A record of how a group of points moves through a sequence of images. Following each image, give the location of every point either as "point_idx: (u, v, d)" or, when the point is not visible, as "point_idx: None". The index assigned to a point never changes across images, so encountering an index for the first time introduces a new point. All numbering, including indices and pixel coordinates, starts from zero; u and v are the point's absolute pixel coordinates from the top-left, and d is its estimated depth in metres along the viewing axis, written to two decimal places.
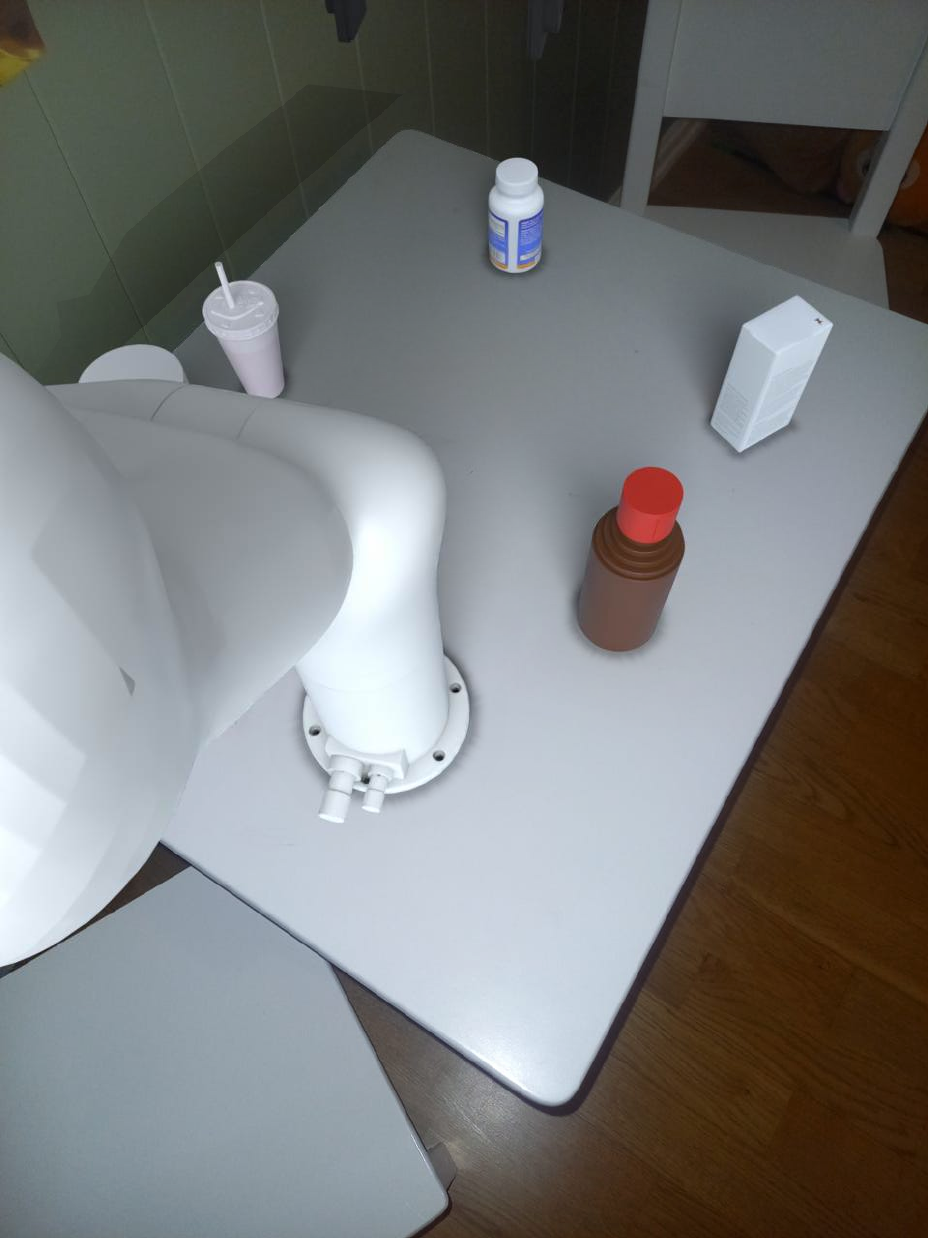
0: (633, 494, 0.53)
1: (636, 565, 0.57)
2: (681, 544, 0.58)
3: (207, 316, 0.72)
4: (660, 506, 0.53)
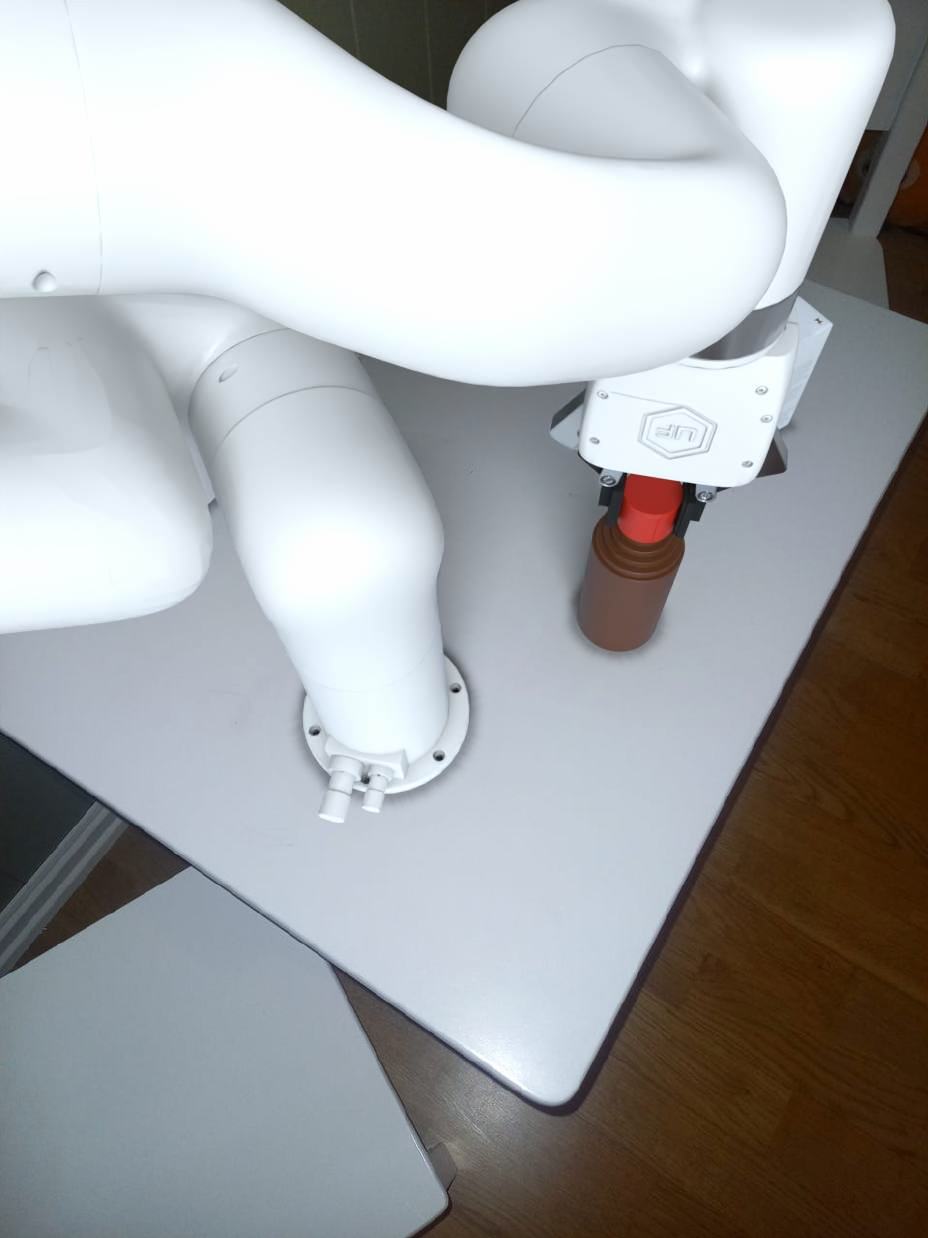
0: (633, 494, 0.53)
1: (636, 565, 0.57)
2: (681, 544, 0.58)
3: None
4: (660, 506, 0.53)
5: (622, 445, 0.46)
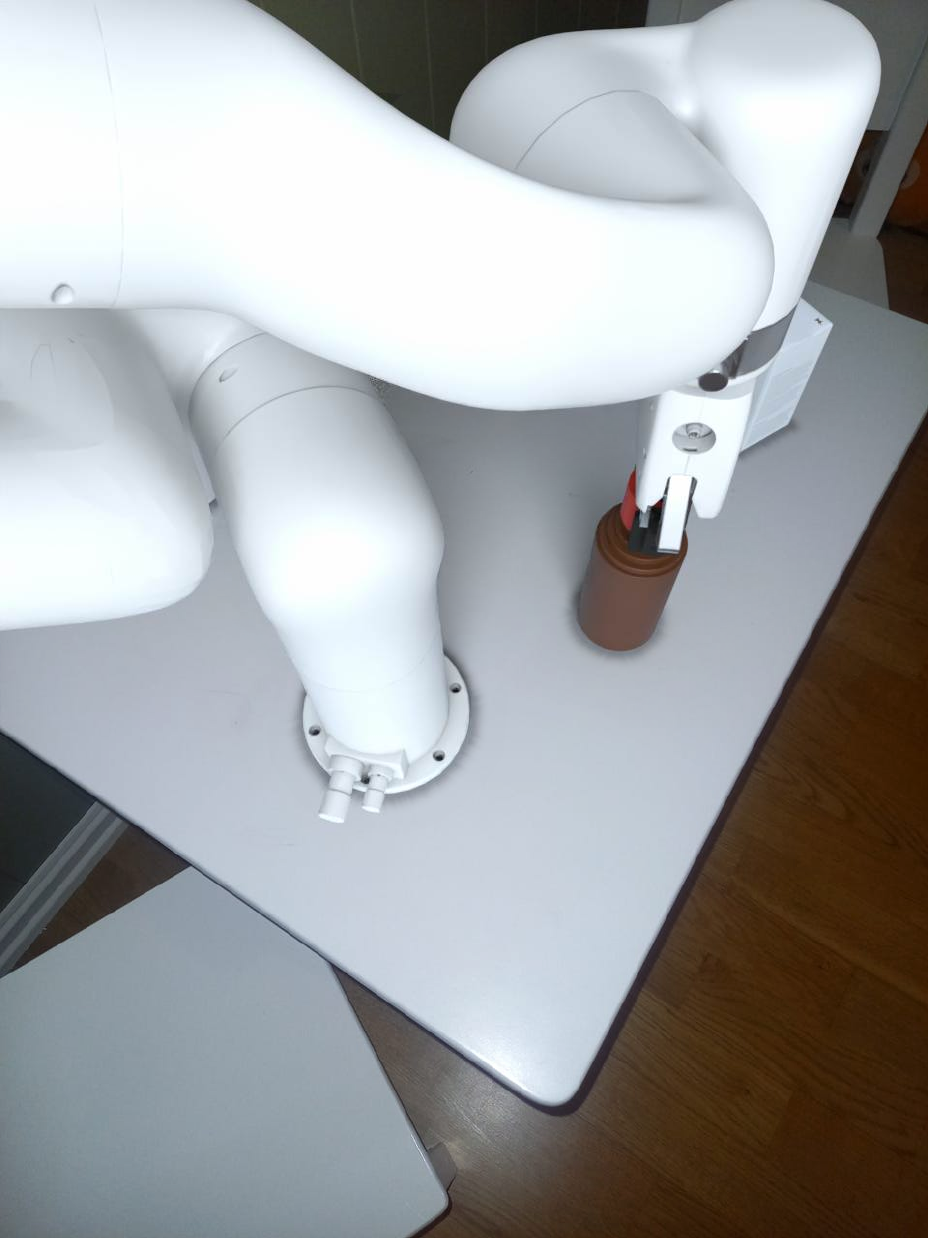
0: None
1: (640, 562, 0.57)
2: (684, 541, 0.58)
3: None
4: None
5: None
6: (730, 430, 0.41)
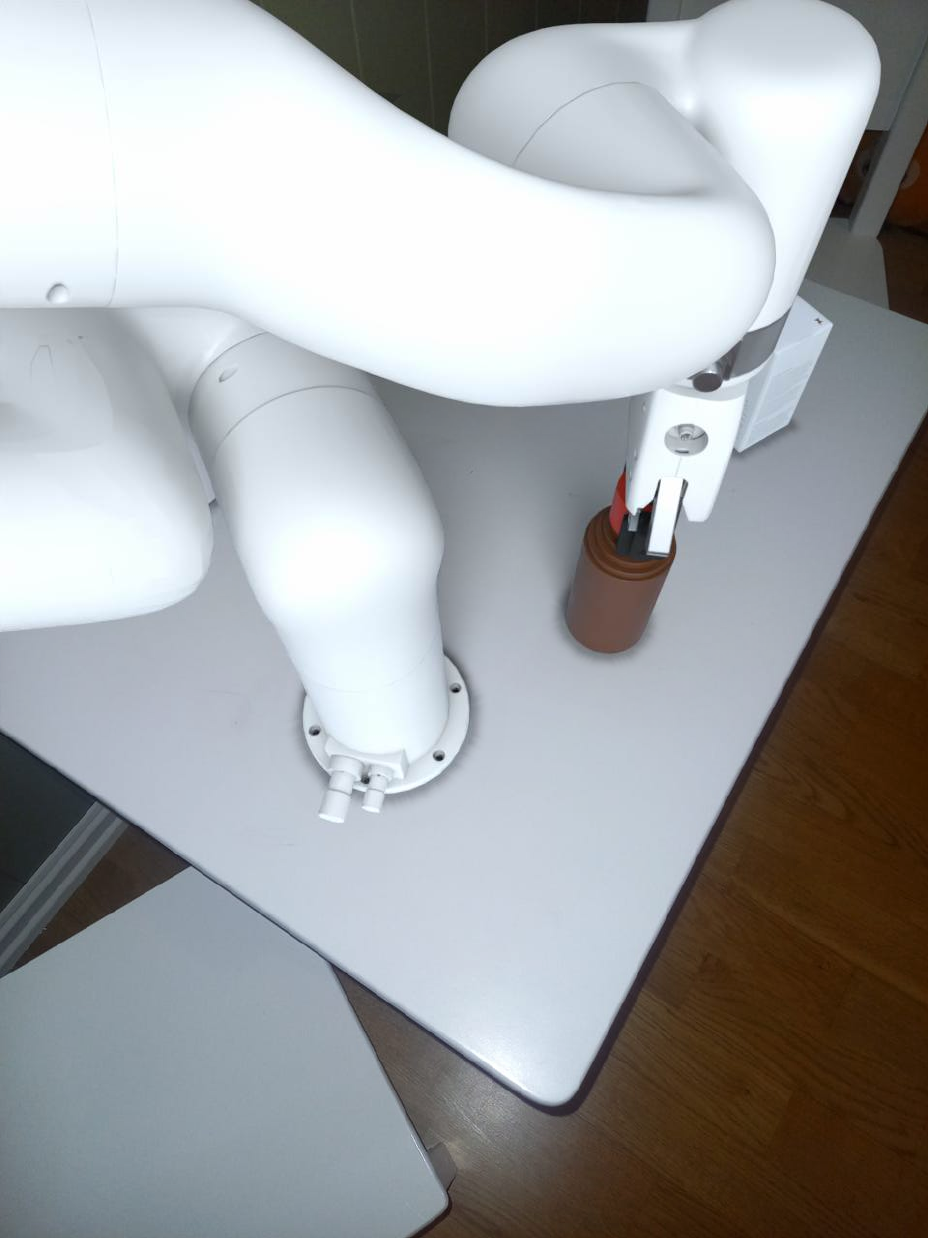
0: None
1: (628, 565, 0.56)
2: (673, 545, 0.58)
3: None
4: None
5: None
6: (723, 432, 0.41)
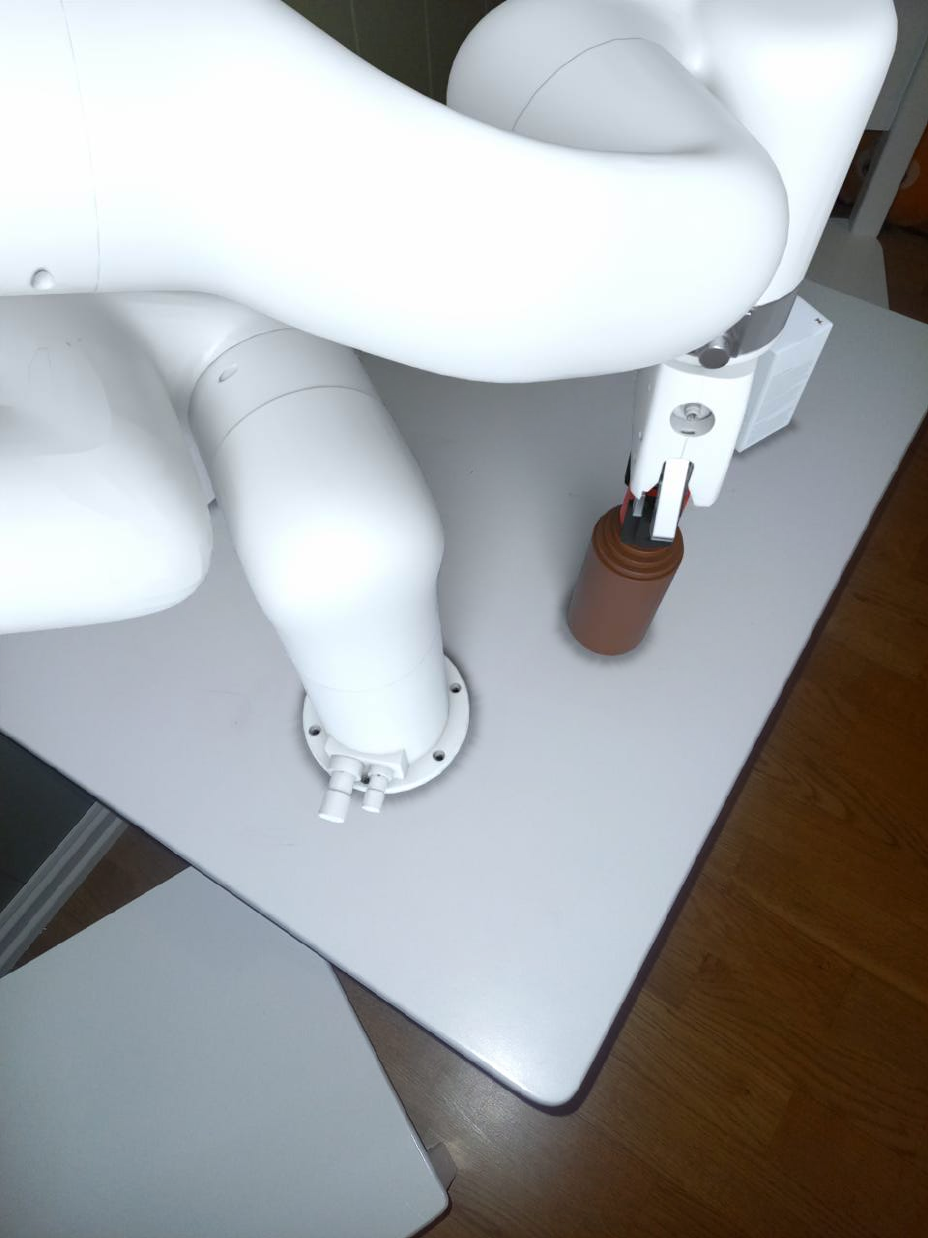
0: None
1: (639, 565, 0.56)
2: (681, 544, 0.58)
3: None
4: None
5: None
6: (730, 412, 0.40)
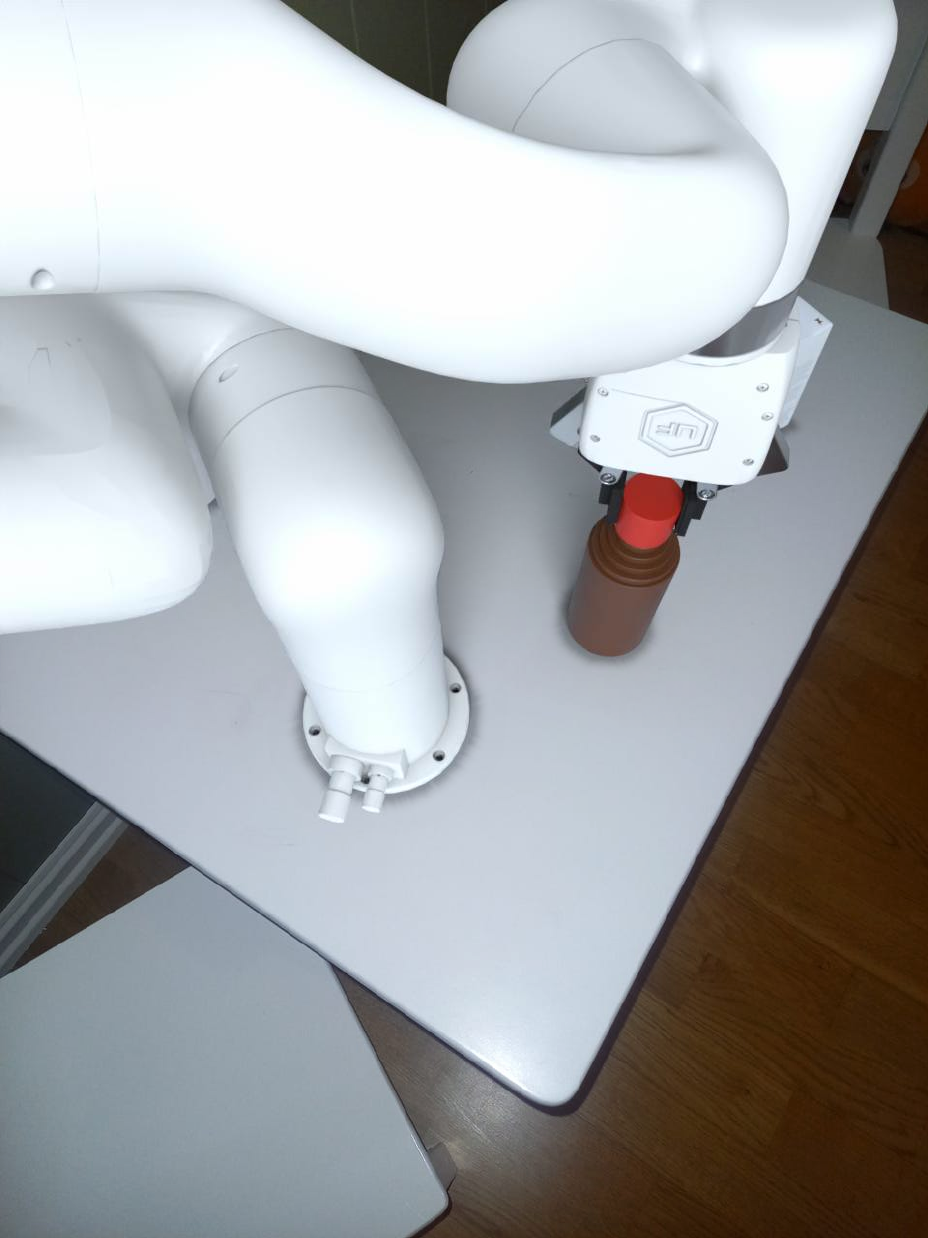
0: (671, 488, 0.53)
1: (634, 572, 0.56)
2: (677, 549, 0.57)
3: None
4: (642, 480, 0.53)
5: (623, 443, 0.46)
6: None
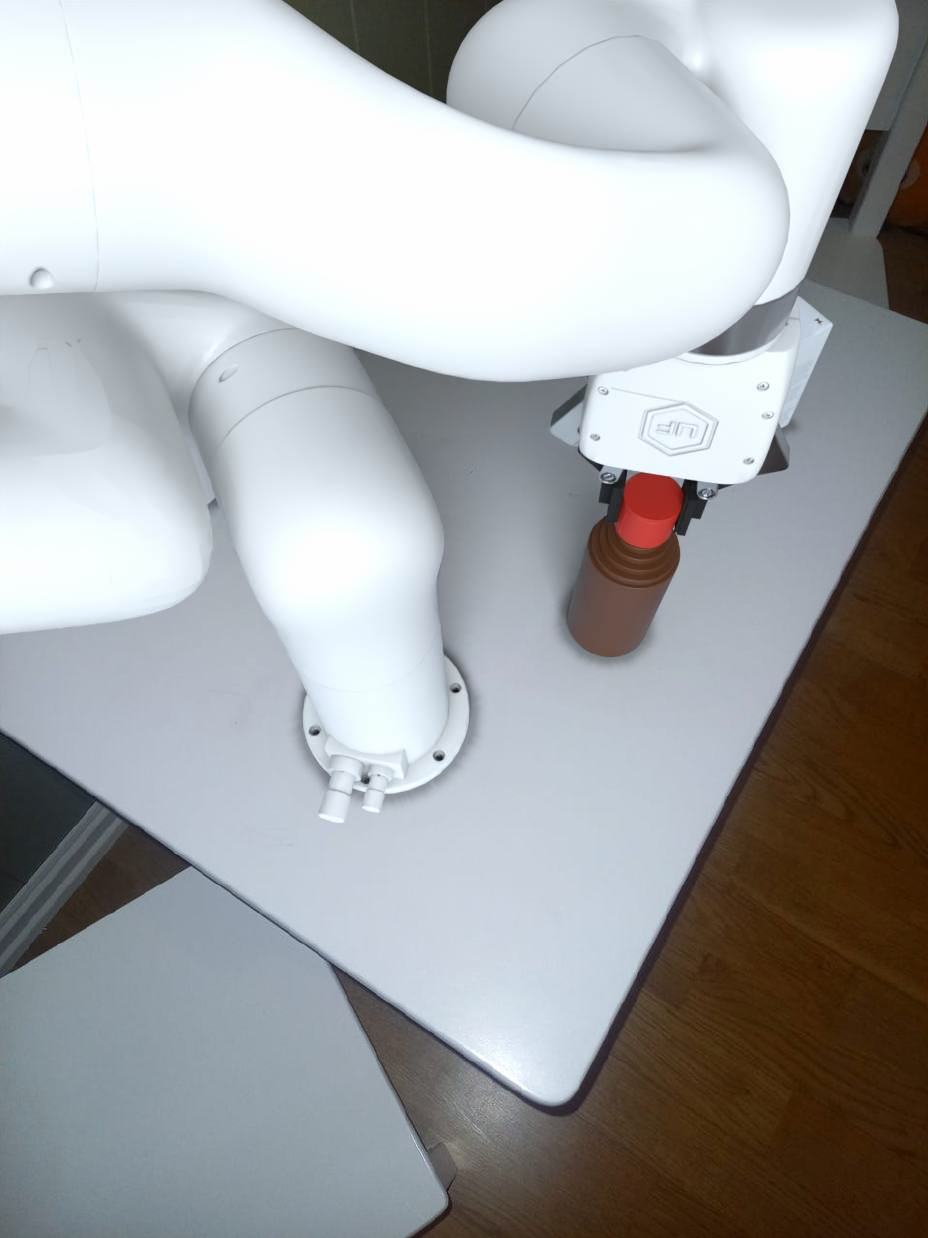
0: (640, 480, 0.53)
1: (634, 572, 0.56)
2: (677, 550, 0.57)
3: None
4: (637, 504, 0.52)
5: (623, 442, 0.46)
6: None
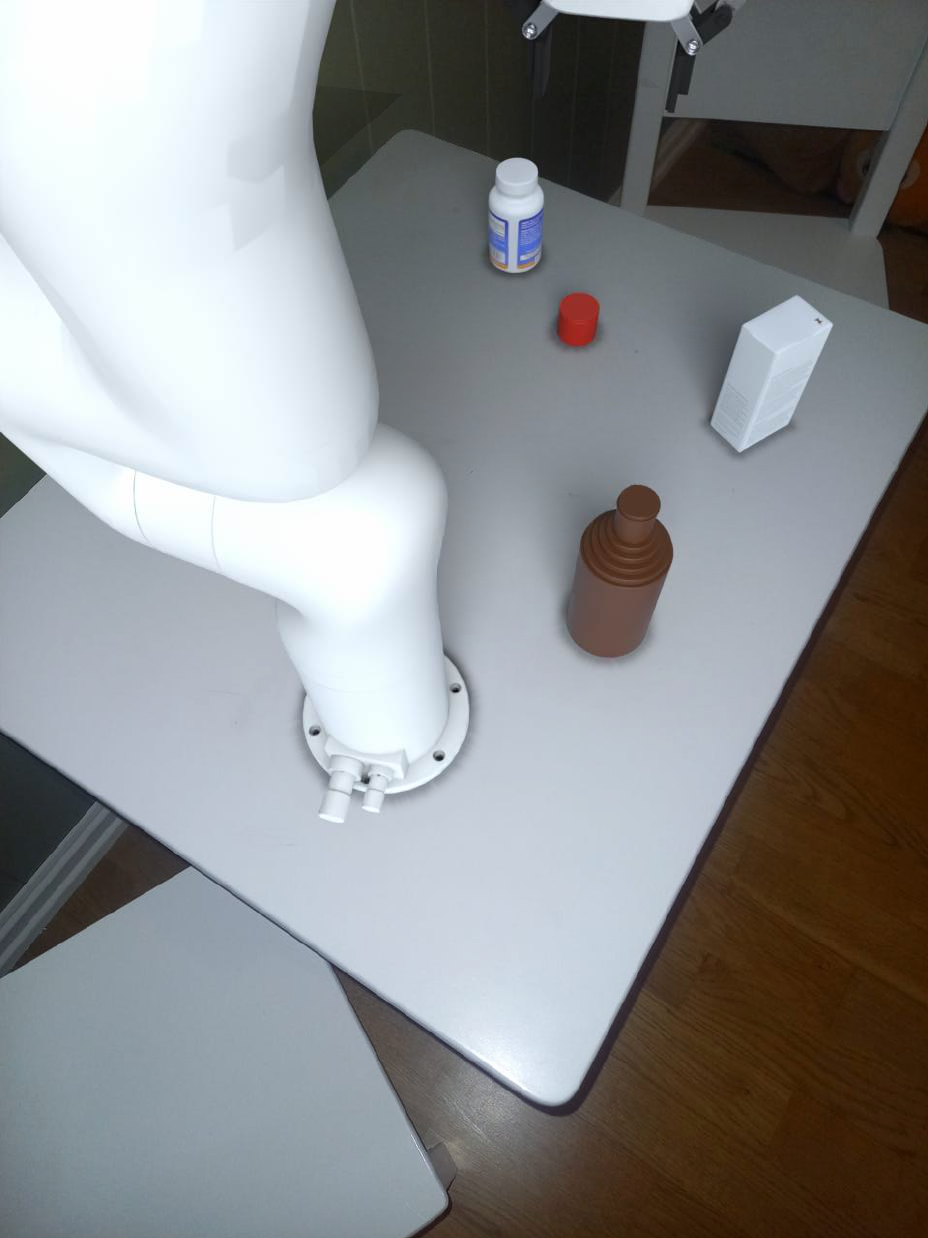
0: (588, 314, 0.80)
1: (626, 572, 0.56)
2: (669, 548, 0.57)
3: None
4: (589, 300, 0.81)
5: None
6: None
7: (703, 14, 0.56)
